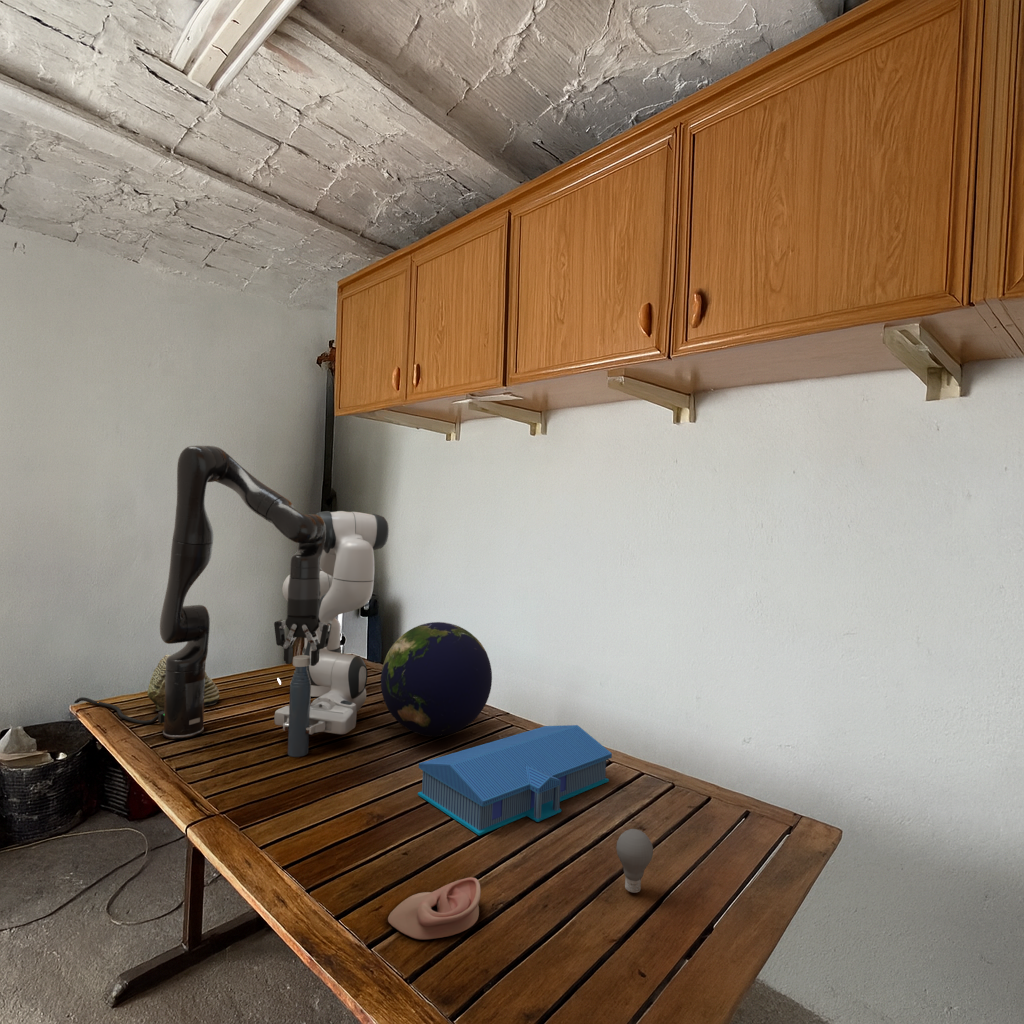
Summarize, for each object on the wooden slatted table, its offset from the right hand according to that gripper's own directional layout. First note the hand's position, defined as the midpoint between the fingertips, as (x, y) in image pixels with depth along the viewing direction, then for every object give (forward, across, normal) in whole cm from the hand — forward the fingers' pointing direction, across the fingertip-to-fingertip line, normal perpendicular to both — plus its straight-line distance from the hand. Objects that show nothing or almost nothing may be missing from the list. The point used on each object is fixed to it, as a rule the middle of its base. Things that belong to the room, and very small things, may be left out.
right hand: (296, 729), depth 155 cm
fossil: (-19, -49, +6) cm, 53 cm away
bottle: (-1, 0, +6) cm, 6 cm away
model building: (0, +57, +6) cm, 57 cm away
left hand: (-1, 0, -16) cm, 16 cm away
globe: (-25, +26, +6) cm, 37 cm away
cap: (-1, 0, -17) cm, 17 cm away
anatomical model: (+46, +54, +6) cm, 71 cm away
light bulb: (+30, +83, +6) cm, 88 cm away
